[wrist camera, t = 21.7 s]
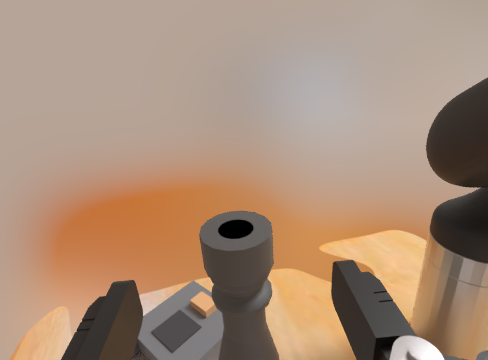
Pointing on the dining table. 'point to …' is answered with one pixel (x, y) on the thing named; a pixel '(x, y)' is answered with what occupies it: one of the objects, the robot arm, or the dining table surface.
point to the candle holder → (240, 281)
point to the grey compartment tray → (182, 327)
